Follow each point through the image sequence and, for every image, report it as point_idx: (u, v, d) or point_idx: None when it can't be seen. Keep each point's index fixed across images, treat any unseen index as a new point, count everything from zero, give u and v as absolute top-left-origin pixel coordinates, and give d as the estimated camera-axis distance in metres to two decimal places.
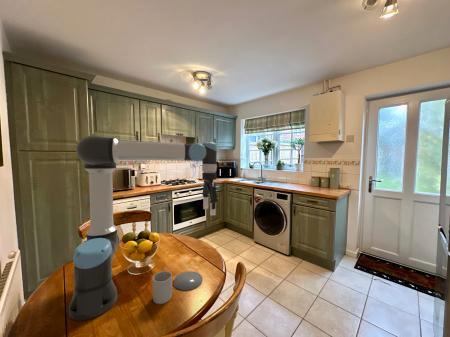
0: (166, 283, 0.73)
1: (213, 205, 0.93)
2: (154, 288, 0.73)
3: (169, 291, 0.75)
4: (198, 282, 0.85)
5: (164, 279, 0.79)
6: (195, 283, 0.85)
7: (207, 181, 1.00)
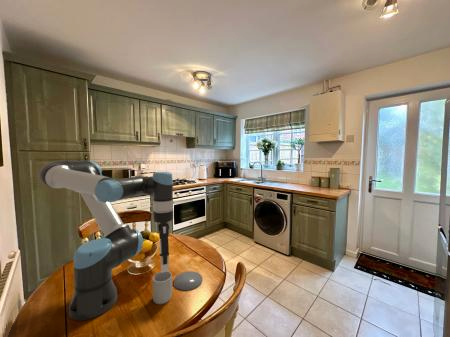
0: (166, 283, 0.73)
1: (164, 259, 0.69)
2: (154, 288, 0.73)
3: (169, 291, 0.75)
4: (198, 282, 0.85)
5: (164, 279, 0.79)
6: (195, 283, 0.85)
7: (160, 223, 0.76)
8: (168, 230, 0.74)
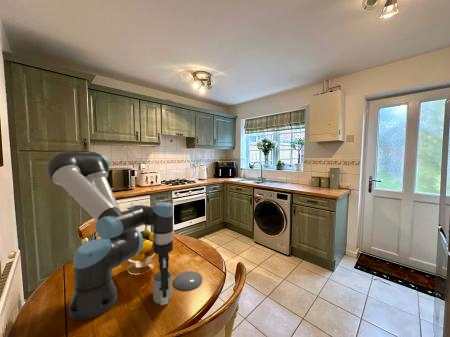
0: None
1: (164, 293, 0.71)
2: (154, 288, 0.73)
3: (169, 291, 0.75)
4: (198, 282, 0.85)
5: None
6: (195, 283, 0.85)
7: None
8: None
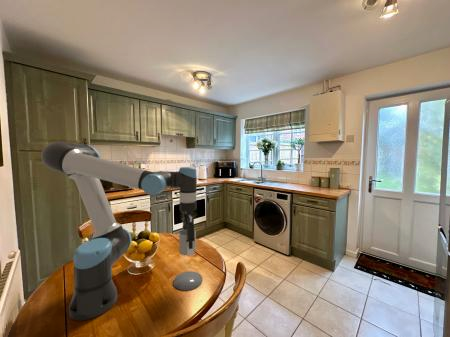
0: None
1: (190, 244, 0.80)
2: (181, 241, 0.82)
3: (194, 245, 0.84)
4: (198, 282, 0.85)
5: None
6: (195, 283, 0.85)
7: (185, 212, 0.85)
8: None
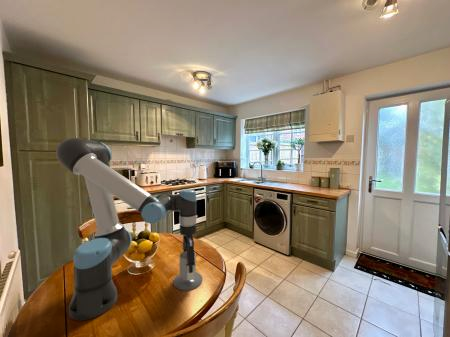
0: None
1: (190, 268, 0.80)
2: (181, 265, 0.83)
3: (194, 268, 0.84)
4: (198, 282, 0.85)
5: None
6: (195, 283, 0.85)
7: (185, 235, 0.85)
8: None
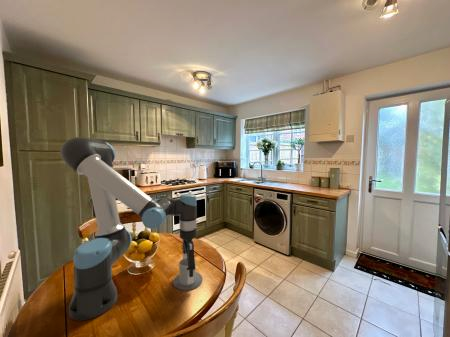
0: None
1: (190, 272, 0.79)
2: (181, 272, 0.83)
3: (194, 275, 0.84)
4: (198, 282, 0.85)
5: None
6: (195, 283, 0.85)
7: (185, 239, 0.86)
8: None
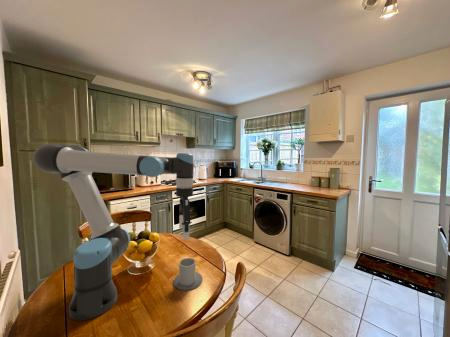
0: (191, 267, 0.83)
1: (186, 227, 0.79)
2: (181, 272, 0.83)
3: (194, 275, 0.84)
4: (198, 282, 0.85)
5: (188, 265, 0.89)
6: (195, 283, 0.85)
7: (182, 198, 0.86)
8: None
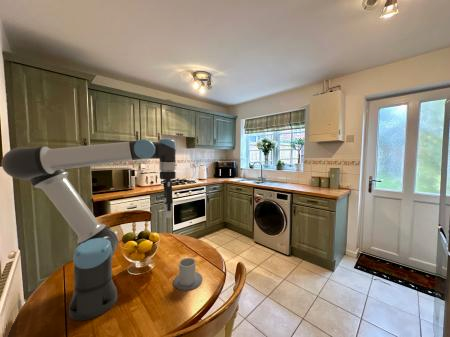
0: (191, 267, 0.83)
1: (168, 206, 0.86)
2: (181, 272, 0.83)
3: (194, 275, 0.84)
4: (198, 282, 0.85)
5: (188, 265, 0.89)
6: (195, 283, 0.85)
7: (165, 181, 0.93)
8: None
